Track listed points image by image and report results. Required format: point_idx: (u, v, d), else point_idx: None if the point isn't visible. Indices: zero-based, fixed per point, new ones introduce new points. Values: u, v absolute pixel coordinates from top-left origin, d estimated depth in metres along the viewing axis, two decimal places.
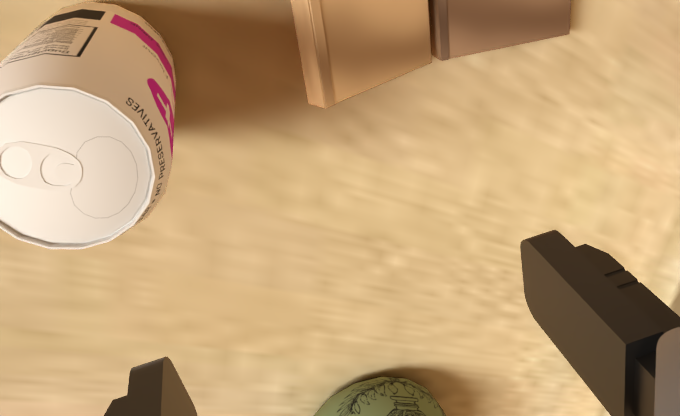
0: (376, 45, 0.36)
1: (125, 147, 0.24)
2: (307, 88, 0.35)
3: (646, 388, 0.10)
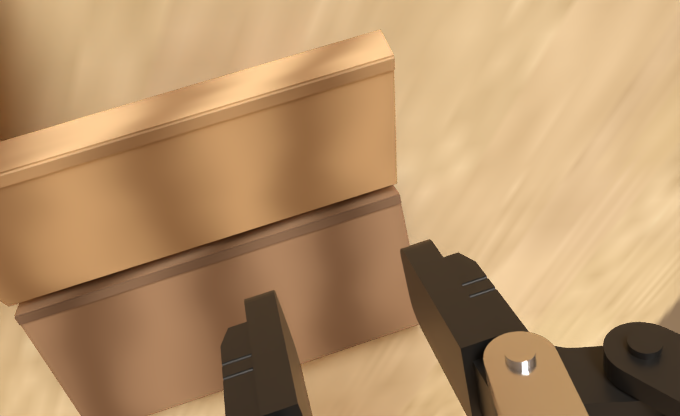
0: (3, 248, 0.26)
1: None
2: None
3: (482, 389, 0.11)
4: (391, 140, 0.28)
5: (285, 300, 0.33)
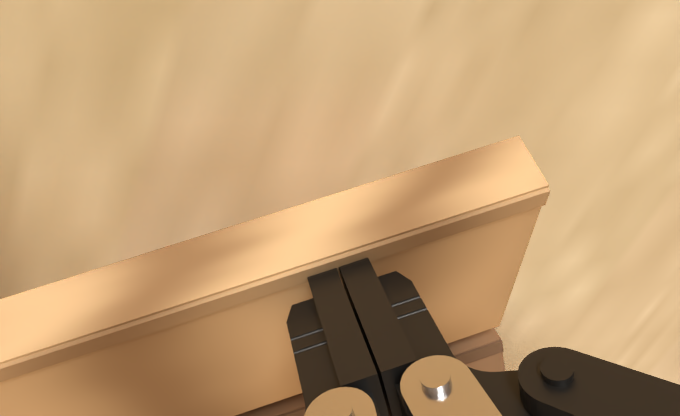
0: None
1: None
2: None
3: (404, 413, 0.11)
4: (507, 284, 0.18)
5: None
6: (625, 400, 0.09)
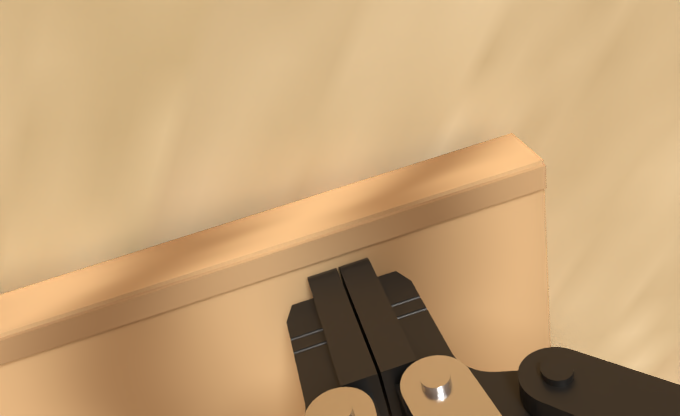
0: None
1: None
2: None
3: (403, 413, 0.11)
4: (542, 330, 0.17)
5: None
6: (625, 400, 0.09)
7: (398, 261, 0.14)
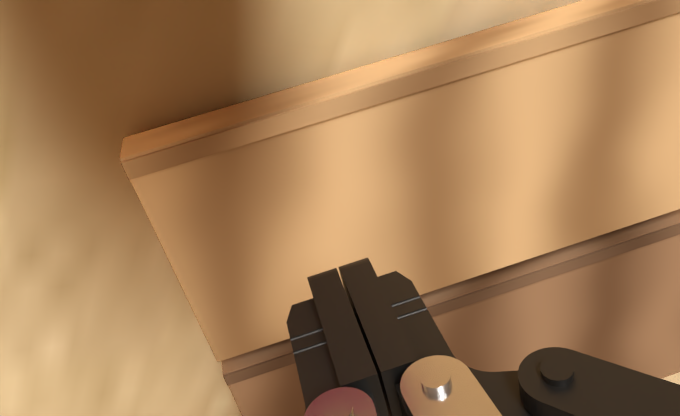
0: (241, 249, 0.21)
1: None
2: (152, 131, 0.19)
3: (404, 413, 0.11)
4: None
5: (537, 348, 0.26)
6: (625, 400, 0.09)
7: (622, 50, 0.20)
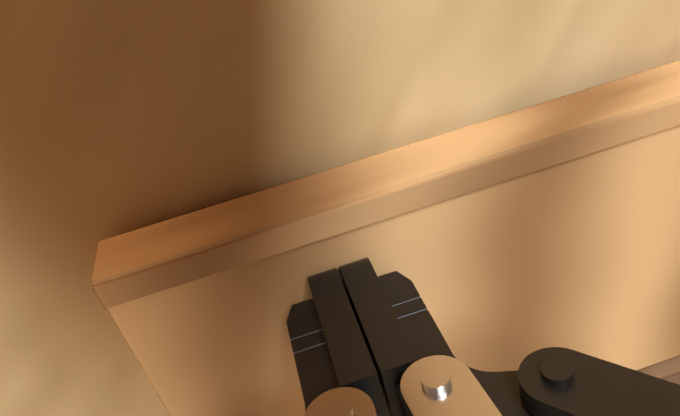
0: (262, 384, 0.15)
1: None
2: (139, 233, 0.14)
3: (404, 413, 0.11)
4: None
5: None
6: (625, 400, 0.09)
7: None
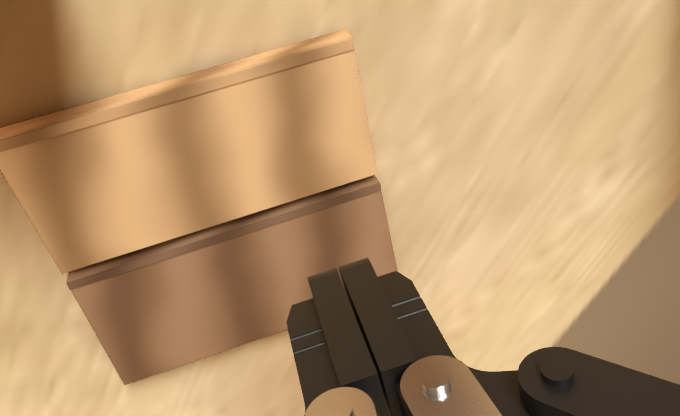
0: (67, 199, 0.34)
1: None
2: (7, 127, 0.32)
3: (404, 413, 0.11)
4: (364, 123, 0.37)
5: (286, 270, 0.40)
6: (625, 400, 0.09)
7: (294, 80, 0.34)
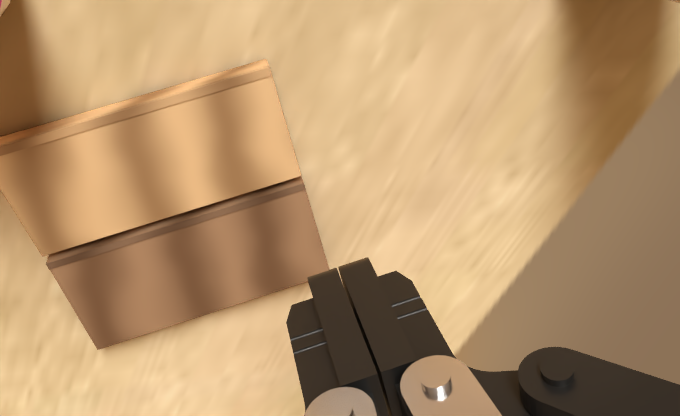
0: (44, 196, 0.43)
1: None
2: None
3: (404, 413, 0.11)
4: (286, 134, 0.45)
5: (229, 256, 0.48)
6: (625, 400, 0.09)
7: (223, 100, 0.42)
